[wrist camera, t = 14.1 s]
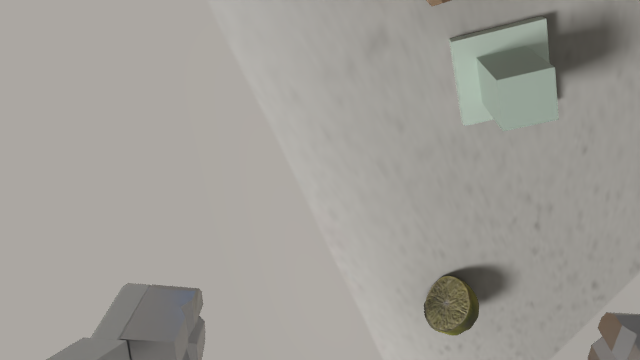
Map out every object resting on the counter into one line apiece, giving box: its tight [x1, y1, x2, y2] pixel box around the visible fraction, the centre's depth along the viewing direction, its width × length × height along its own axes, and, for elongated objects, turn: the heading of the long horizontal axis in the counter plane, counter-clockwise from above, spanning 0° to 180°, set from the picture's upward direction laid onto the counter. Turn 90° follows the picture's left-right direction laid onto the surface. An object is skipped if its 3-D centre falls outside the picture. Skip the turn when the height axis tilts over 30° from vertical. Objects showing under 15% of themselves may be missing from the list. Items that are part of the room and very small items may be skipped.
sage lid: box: [449, 16, 559, 131], centre depth 36 cm, size 7×7×7 cm
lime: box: [424, 276, 479, 335], centre depth 46 cm, size 4×5×5 cm
